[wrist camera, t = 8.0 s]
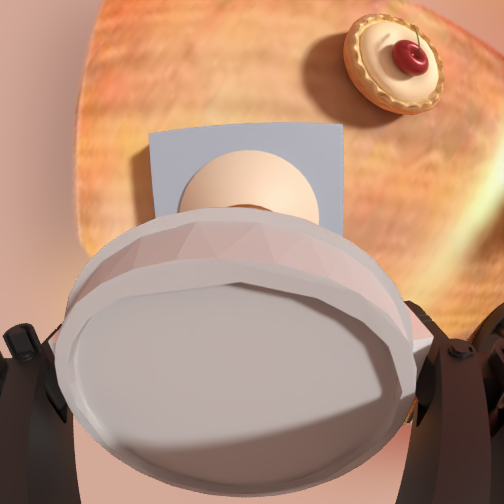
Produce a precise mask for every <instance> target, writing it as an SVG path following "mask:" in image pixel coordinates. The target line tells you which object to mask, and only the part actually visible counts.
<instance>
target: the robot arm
mask: <svg viewBox="0 0 504 504" xmlns="http://www.w3.org/2000/svg"><path fill="white" fill-rule="evenodd" d="M404 303H405V306H406V308H407V310H408V312H409V314H410V319H411V326H412V335H413V344H414V345H413V357H414V360H415V364H416V367H417V375H416V390H415V395H416V397H417V398H418V401H417V403H416V405H415V407H414V409H413V411H412V413H411V415H410V417H409V419H408V421H407V423H410V422H411V420H412V418H413V422H412V429H411V436H410V442H409V448H408V453H407V458H406V463H405V469H404V473H403V477H402V481H401V485H400V489H399V493H398V496H397V500H396V503H395V504H504V304H502V305H501V306H499V307H498V308H497V309H496V310H495V311H494V312H493V313H492V314H491V315H490V316H489V317H488V319H487V320H486V321H485V322H484V324H483V325H482V327H481V328H480V330H479V332H478V333H477V335H476V337H475V339H474V341H473V344H472V345H471V344H470V343H468V342H466V341H464V340H460V339H449V338H448V337H447V336H446V335H445V333H444V332H443V331H442V330H441V329H440V328H439V327H438V326H437V325H436V323H435V322H434V321H432V319H431V318H430V317H429V316H428V315H426V313H425V312H424V311H423V309H422V308H421V307H420V306H418V305H416V304H414V303H413V302H411V301H404ZM61 326H62V324H60V325H59V326H58V327H57V329H55V331H53V332H52V334H51V335H50V336H49V337H48V338H47V339H46V340H45V341H44V342H43V343H42V344H41V343H40V341H39V339H38V337H37V334H36V332H35V329H34V327H33V326H32V325H31V324H28V323H24V324H19V325H16V326H14V327H12V328H10V329H9V330H8V331H6V332H5V334H4V335H3V338H4V340H5V342H6V345H7V347H8V349H9V351H10V353H11V355H12V358H3V356H2V354H1V352H0V504H81V500H80V494H79V487H78V480H77V472H76V464H75V451H74V437H73V435H74V434H73V413H72V411H71V410H70V408H69V406H68V404H67V402H66V400H65V398H64V396H63V394H62V391H61V389H60V387H59V384H58V379H57V374H56V368H55V347H56V341H57V338H58V335H59V332H60V329H61Z"/></svg>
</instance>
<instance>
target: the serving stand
mask: <svg viewBox="0 0 504 504" xmlns="http://www.w3.org/2000/svg"><path fill="white" fill-rule="evenodd" d="M149 147H150V163H151V177H152V188H153V199H154V208H155V217H156V218H157V217H161V216H165V215H170V214H175V213H181V212H186V211H191V210H196V209H202V208H207V207H229V206H233V205H238V204H252V205H257V206H262V207H264V208H267V209H269V210H271V211H273V212H277V213H282V214H287V215H292V216H296V217H299V218H303V219H306V220H308V221H310V222H313V223H315V224H317V225H319V226H321V227H324V228H326V229H328V230H330V231H332V232H334V233H337V234H339V235H340V236H342V237H343V212H344V145H343V124H331V123H301V122H274V123H244V124H227V125H214V126H203V127H194V128H185V129H177V130H169V131H162V132H156V133H149Z"/></svg>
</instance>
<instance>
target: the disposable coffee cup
mask: <svg viewBox="0 0 504 504" xmlns="http://www.w3.org/2000/svg"><path fill="white" fill-rule="evenodd" d="M413 345H414V344H413V335H412V326H411V319H410V314H409V312H408V310H407V308H406V306H405V303H404V301H403V299H402V297H401V295H400V293H399V291H398V289H397V287H396V285H395V283H394V282H393V281H392V280H391V278H390V277H389V276H388V275H387V274H386V273H385V272H384V270H383V269H382V268H381V267H380V266H379V265H378V264H377V263H376V262H375V260H374V259H373V258H372V257H371V256H370V255H368V254H367V253H366V252H364V251H363V250H362V249H361V248H359V247H358V246H357V245H355V244H354V243H352V242H350V241H349V240H347V239H345V238H344V237H342V236H340V235H339V234H337V233H334V232H332V231H330V230H328V229H326V228H324V227H321V226H319V225H317V224H315V223H313V222H310V221H308V220H306V219H303V218H299V217H296V216H292V215H287V214H282V213H277V212H273V211H271V210H269V209H267V208H264V207H262V206H257V205H252V204H238V205H233V206H229V207H207V208H202V209H196V210H191V211H186V212H181V213H175V214H170V215H165V216H161V217H157V218H155V219H153V220H150V221H148V222H146V223H143V224H141V225H139V226H136V227H134V228H132V229H130V230H128V231H127V232H125V233H124V234H122V235H120V236H119V237H117V238H116V239H114V240H113V241H111V242H110V243H108V244H107V245H105V246H104V247H103V248H102V249H101V250H100V251H99V252H98V253H97V254H96V255H95V256H94V257H93V258H92V259H91V260H90V261H89V262H88V263H87V265H86V266H85V267H84V269H83V270H82V272H81V273H80V275H79V276H78V278H77V280H76V282H75V284H74V286H73V289H72V291H71V293H70V295H69V298H68V302H67V307H66V313H65V318H64V321H63V324H62V326H61V329H60V332H59V335H58V338H57V341H56V347H55V368H56V374H57V379H58V384H59V387H60V389H61V391H62V394H63V396H64V398H65V400H66V402H67V404H68V406H69V408H70V410H71V411H72V413H73V414H74V416H75V417H76V419H77V420H78V422H79V423H80V424H81V426H82V427H83V428H84V429H85V430H86V431H87V432H88V433H89V435H90V436H91V437H92V438H93V439H94V440H95V441H96V442H98V443H99V444H100V445H101V446H102V447H103V448H105V449H106V450H107V451H108V452H109V453H111V454H112V455H113V456H114V457H116V458H117V459H119V460H121V461H122V462H124V463H125V464H127V465H129V466H130V467H132V468H134V469H135V470H137V471H139V472H140V473H143V474H145V475H147V476H149V477H152V478H154V479H157V480H159V481H161V482H164V483H166V484H169V485H171V486H175V487H179V488H183V489H186V490H191V491H195V492H199V493H204V494H209V495H219V496H230V497H264V496H275V495H281V494H287V493H292V492H297V491H301V490H305V489H308V488H311V487H314V486H317V485H319V484H322V483H325V482H328V481H331V480H333V479H336V478H339V477H340V476H342V475H344V474H346V473H348V472H350V471H351V470H353V469H355V468H357V467H358V466H360V465H362V464H363V463H364V462H366V461H367V460H368V459H370V458H371V457H372V456H374V455H375V454H376V453H378V452H379V451H380V450H381V449H382V448H383V447H384V446H385V445H386V444H387V443H388V442H389V441H390V440H391V439H392V438H393V437H394V435H395V434H396V433H397V431H398V430H399V428H400V427H401V425H402V424H403V422H404V421H405V419H406V416H407V414H408V412H409V410H410V408H411V405H412V403H413V401H414V398H415V390H416V375H417V367H416V364H415V360H414V357H413Z"/></svg>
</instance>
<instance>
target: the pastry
mask: <svg viewBox="0 0 504 504" xmlns="http://www.w3.org/2000/svg"><path fill="white" fill-rule="evenodd" d="M343 57H344V63H345V67H346V70H347V73H348V75H349V77H350V79H351V81H352V82H353V84H354V85H355V87H356V88H357V89H358V90H359V92H360V93H361V94H362V95H363V96H364V97H365V98H367V99H368V100H369V101H371V102H372V103H373V104H375V105H377V106H379V107H380V108H382V109H385V110H387V111H390V112H393V113H397V114H405V115H415V114H418V113H422V112H426V111H428V110H431V109H432V108H434V106H436V104H437V103H438V102H439V100H440V98H441V96H442V94H443V87H444V79H445V75H444V70H443V63H442V60H441V57H440V55H439V52H438V50H437V49H436V48H435V47H434V45H433V44H432V42H431V41H430V39H429V37H427V36H426V35H425V34H424V33H423V32H421V31H420V29H419V28H418V27H417V26H415V25H412V24H409V23H408V22H407V21H405V20H403V19H399V18H395V17H393V16H390V15H385V14H369V15H366V16H363V17H361V18H360V19H358V20H357V21H356V22H354V23H353V25H352V26H351V28H350V30H349V32H348V34H347V36H346V38H345V41H344V47H343Z"/></svg>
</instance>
